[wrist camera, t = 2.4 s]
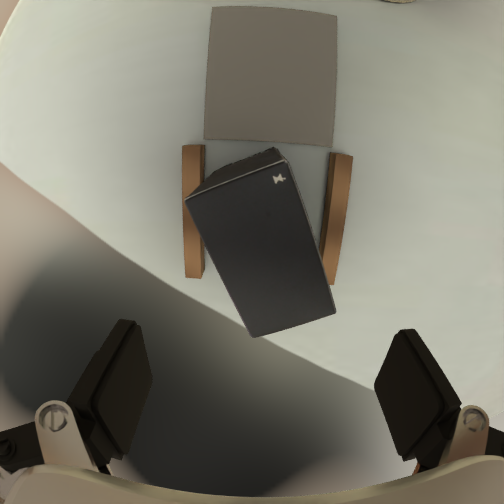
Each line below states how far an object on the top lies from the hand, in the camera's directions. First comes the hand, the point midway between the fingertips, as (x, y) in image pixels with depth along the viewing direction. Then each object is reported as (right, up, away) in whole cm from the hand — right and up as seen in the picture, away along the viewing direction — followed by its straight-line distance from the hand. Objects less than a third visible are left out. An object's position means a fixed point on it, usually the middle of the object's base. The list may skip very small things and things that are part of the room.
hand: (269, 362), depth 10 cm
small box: (0, +8, +17) cm, 18 cm away
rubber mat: (+1, +19, +11) cm, 22 cm away
